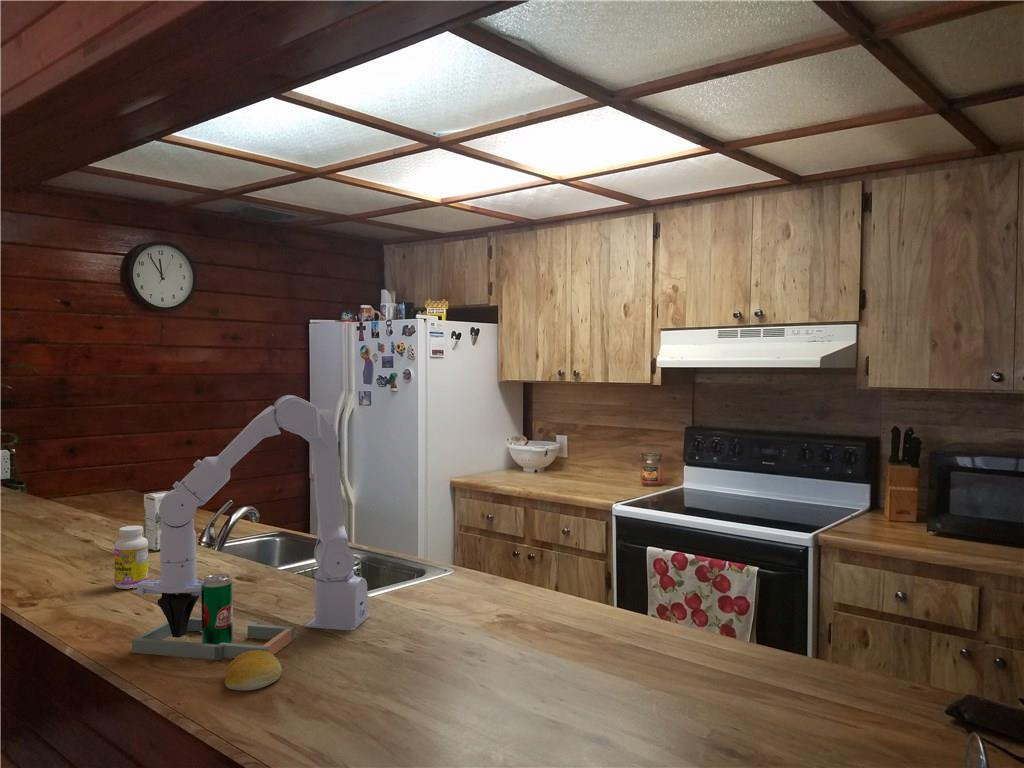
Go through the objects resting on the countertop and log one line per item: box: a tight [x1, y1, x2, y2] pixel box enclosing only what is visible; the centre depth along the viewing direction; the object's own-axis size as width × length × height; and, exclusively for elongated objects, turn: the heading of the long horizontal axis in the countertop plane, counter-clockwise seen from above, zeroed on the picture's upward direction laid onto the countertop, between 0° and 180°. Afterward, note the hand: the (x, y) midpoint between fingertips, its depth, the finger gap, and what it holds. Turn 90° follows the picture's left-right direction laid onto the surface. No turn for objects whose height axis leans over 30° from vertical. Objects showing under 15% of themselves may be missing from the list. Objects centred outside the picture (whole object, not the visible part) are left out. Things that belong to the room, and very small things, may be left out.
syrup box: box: [143, 490, 169, 551], centre depth 197 cm, size 6×6×14 cm
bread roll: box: [224, 650, 283, 692], centre depth 114 cm, size 8×9×4 cm
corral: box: [131, 616, 295, 661], centre depth 129 cm, size 24×12×2 cm, turn 79°
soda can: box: [200, 573, 234, 645], centre depth 129 cm, size 5×5×12 cm
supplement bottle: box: [113, 525, 149, 590], centre depth 164 cm, size 7×7×13 cm
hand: (179, 635), depth 130 cm, fingers closed
